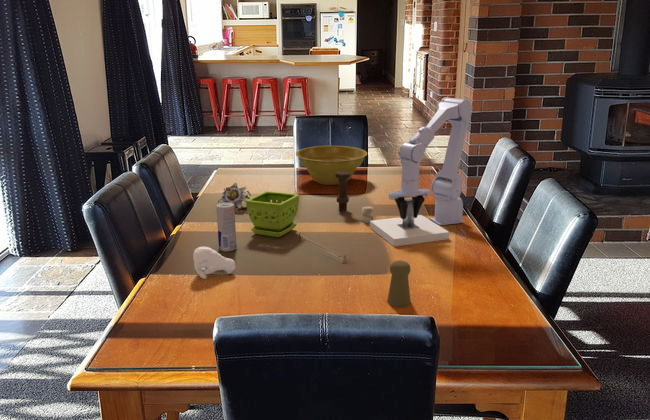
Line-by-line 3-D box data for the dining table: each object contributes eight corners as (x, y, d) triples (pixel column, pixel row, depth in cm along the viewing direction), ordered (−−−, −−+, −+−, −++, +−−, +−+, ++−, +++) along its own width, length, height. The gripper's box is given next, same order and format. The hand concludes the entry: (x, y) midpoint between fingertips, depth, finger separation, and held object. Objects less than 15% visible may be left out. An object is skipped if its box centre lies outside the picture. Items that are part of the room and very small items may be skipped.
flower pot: (301, 228, 211) (300, 194, 207) (282, 241, 199) (280, 204, 195) (266, 223, 217) (265, 189, 213) (246, 235, 205) (244, 199, 201)
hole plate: (420, 221, 218) (421, 214, 217) (448, 239, 200) (449, 232, 199) (369, 227, 212) (370, 220, 211) (394, 246, 193) (394, 239, 193)
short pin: (370, 219, 221) (370, 206, 219) (374, 222, 217) (374, 209, 216) (360, 220, 220) (360, 207, 218) (364, 223, 216) (364, 210, 215)
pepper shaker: (385, 297, 158) (386, 258, 154) (408, 296, 158) (409, 257, 155) (389, 307, 152) (390, 267, 149) (413, 306, 152) (414, 266, 149)
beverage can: (239, 247, 194) (237, 202, 189) (231, 253, 189) (229, 207, 184) (224, 245, 196) (221, 201, 191) (215, 251, 191) (212, 206, 186)
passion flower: (233, 224, 233) (213, 201, 229) (236, 210, 243) (217, 189, 238) (256, 209, 230) (236, 186, 226) (258, 196, 240) (239, 174, 235)
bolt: (348, 213, 228) (348, 174, 223) (334, 212, 229) (334, 174, 224) (350, 208, 233) (350, 171, 229) (337, 208, 234) (337, 170, 230)
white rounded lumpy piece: (193, 243, 172) (235, 244, 175) (193, 271, 175) (234, 271, 177) (192, 251, 166) (236, 252, 169) (192, 279, 169) (235, 280, 171)
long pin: (411, 224, 207) (411, 198, 205) (416, 227, 204) (416, 201, 201) (400, 225, 206) (400, 199, 204) (405, 228, 203) (405, 202, 200)
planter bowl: (368, 190, 258) (369, 160, 254) (294, 190, 259) (293, 160, 255) (365, 172, 289) (365, 145, 285) (298, 173, 290) (297, 145, 286)
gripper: (424, 174, 206) (422, 212, 210) (385, 178, 201) (384, 216, 205) (434, 179, 199) (432, 218, 203) (394, 183, 195) (393, 222, 199)
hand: (408, 217), depth 204 cm, fingers closed on long pin, 4 cm apart
